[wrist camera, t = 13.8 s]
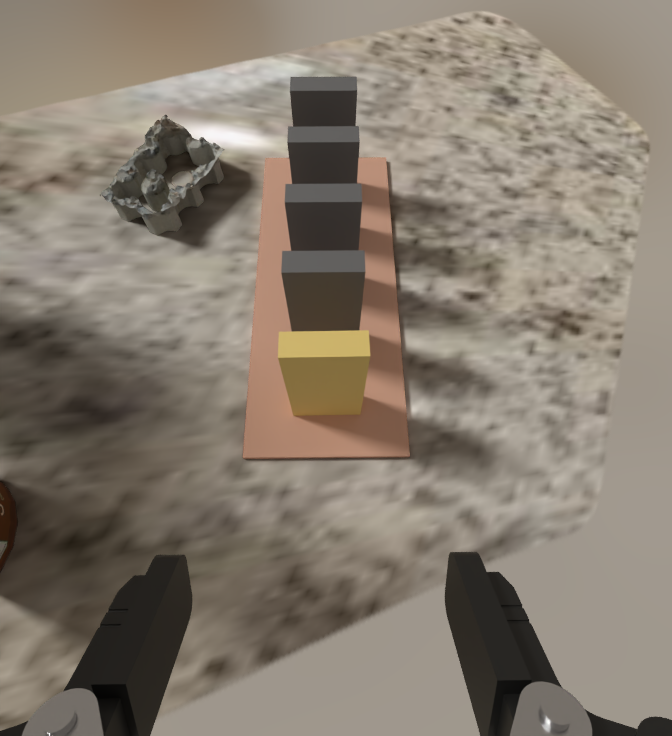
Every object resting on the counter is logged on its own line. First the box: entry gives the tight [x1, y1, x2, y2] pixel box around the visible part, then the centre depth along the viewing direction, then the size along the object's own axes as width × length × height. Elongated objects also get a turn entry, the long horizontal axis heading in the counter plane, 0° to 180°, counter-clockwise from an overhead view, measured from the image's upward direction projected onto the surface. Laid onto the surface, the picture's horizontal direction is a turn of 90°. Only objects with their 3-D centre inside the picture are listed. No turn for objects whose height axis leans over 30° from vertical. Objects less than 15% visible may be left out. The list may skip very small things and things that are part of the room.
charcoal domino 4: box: [281, 250, 365, 332], centre depth 31 cm, size 2×5×10 cm, turn 91°
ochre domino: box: [278, 330, 370, 416], centre depth 29 cm, size 2×5×10 cm, turn 91°
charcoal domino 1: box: [290, 77, 357, 127], centre depth 38 cm, size 2×5×10 cm, turn 91°
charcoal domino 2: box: [288, 126, 359, 184], centre depth 36 cm, size 2×5×10 cm, turn 91°
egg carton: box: [100, 115, 225, 235], centre depth 41 cm, size 11×8×4 cm
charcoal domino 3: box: [285, 184, 362, 251], centre depth 33 cm, size 2×5×10 cm, turn 91°
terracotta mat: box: [243, 157, 410, 459], centre depth 38 cm, size 30×12×1 cm, turn 1°
